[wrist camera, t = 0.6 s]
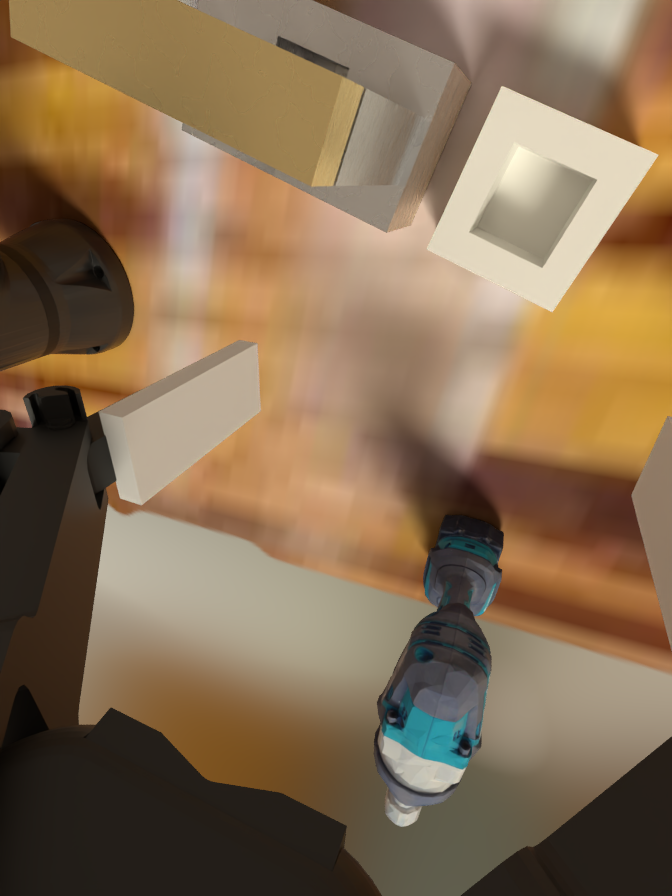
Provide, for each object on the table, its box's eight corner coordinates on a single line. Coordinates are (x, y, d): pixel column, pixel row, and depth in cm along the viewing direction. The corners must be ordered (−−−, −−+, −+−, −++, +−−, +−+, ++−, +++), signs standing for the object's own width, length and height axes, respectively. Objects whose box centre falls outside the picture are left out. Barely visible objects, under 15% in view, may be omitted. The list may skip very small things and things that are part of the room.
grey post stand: (232, 137, 41) (53, 112, 26) (260, -11, 35) (50, -149, 21) (410, 225, 39) (323, 251, 24) (471, 83, 33) (405, 3, 18)
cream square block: (442, 241, 39) (426, 249, 34) (509, 100, 33) (501, 85, 28) (552, 295, 37) (552, 312, 33) (642, 159, 31) (658, 154, 27)
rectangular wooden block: (55, 49, 24) (10, 37, 22) (54, -55, 22) (4, -79, 20) (332, 186, 22) (310, 186, 20) (364, 87, 20) (342, 76, 18)
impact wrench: (417, 609, 60) (348, 826, 40) (450, 464, 48) (376, 666, 28) (478, 631, 57) (438, 873, 37) (529, 484, 46) (510, 720, 26)
